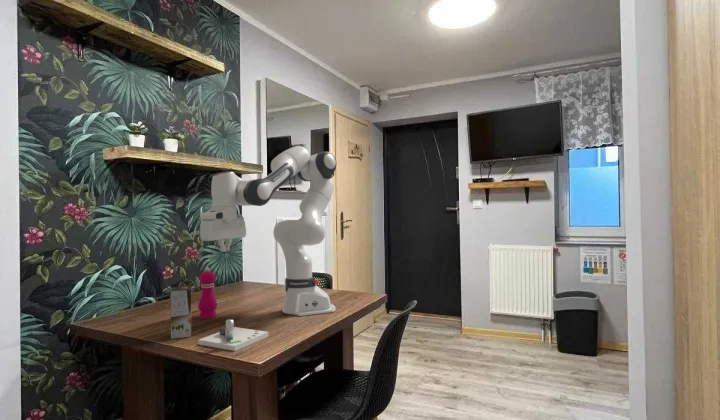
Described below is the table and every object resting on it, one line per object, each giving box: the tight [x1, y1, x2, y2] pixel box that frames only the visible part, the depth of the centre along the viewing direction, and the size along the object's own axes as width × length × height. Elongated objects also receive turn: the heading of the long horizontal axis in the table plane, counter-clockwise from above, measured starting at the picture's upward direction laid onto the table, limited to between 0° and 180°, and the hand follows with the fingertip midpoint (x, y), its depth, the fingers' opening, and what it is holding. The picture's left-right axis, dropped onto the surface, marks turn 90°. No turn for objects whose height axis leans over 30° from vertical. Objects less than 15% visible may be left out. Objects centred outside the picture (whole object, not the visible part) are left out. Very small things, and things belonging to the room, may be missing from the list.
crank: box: [218, 318, 235, 340], centre depth 125 cm, size 11×4×6 cm, turn 26°
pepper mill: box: [197, 267, 218, 320], centre depth 158 cm, size 7×7×20 cm
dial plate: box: [197, 326, 269, 352], centre depth 126 cm, size 16×15×2 cm
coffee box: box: [170, 285, 192, 340], centre depth 134 cm, size 9×6×16 cm
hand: (225, 251), depth 144 cm, fingers closed
